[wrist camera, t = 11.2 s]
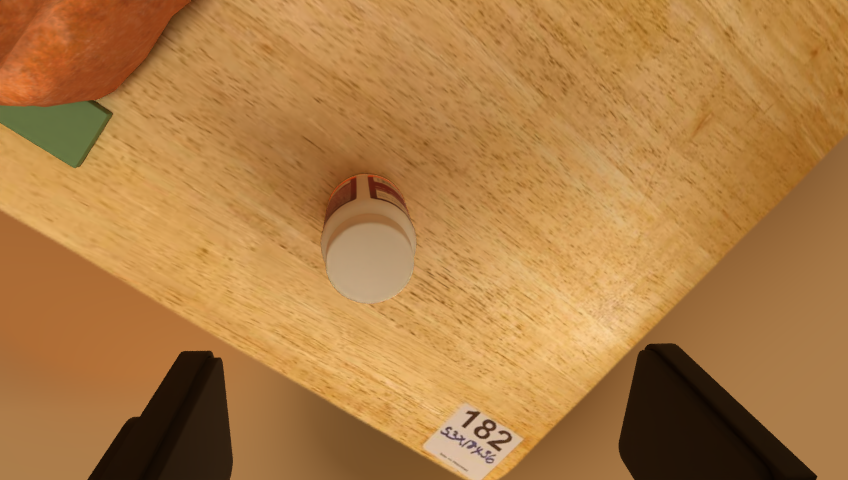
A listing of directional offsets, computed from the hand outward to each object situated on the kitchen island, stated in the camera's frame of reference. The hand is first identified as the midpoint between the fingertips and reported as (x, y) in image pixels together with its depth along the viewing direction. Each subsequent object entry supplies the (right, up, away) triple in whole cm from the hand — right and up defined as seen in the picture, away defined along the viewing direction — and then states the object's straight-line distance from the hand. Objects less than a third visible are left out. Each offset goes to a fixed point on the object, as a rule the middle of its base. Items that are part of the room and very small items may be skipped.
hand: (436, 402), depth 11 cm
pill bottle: (-4, +5, +19) cm, 20 cm away
